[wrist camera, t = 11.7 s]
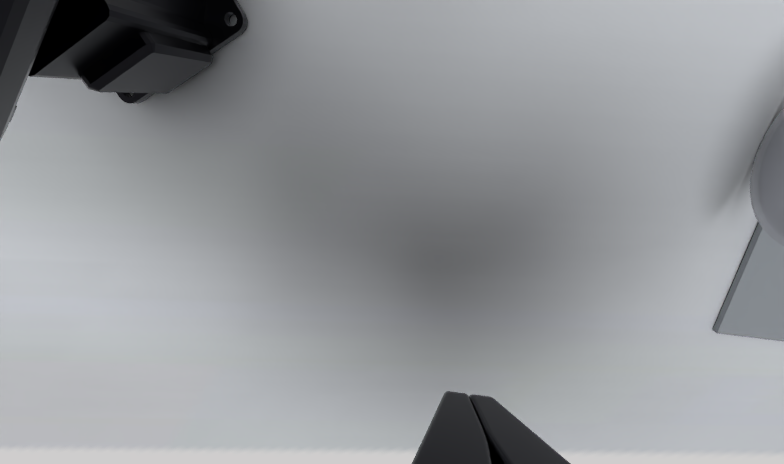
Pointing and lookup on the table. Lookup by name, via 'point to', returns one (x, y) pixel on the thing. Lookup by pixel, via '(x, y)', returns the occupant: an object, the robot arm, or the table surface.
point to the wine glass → (770, 181)
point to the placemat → (756, 292)
